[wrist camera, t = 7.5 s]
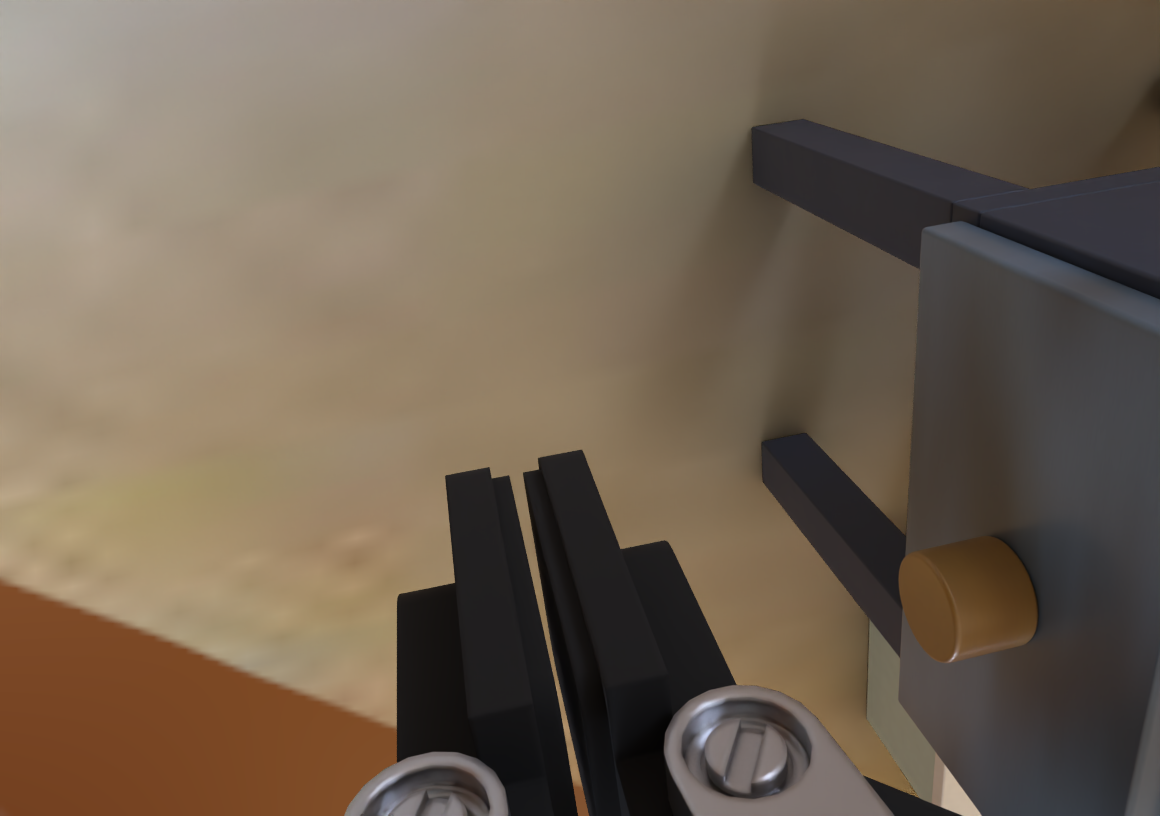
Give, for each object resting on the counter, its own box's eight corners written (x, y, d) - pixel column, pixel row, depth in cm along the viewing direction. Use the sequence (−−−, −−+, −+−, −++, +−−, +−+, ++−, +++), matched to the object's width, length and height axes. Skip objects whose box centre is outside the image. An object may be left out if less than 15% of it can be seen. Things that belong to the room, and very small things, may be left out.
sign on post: (867, 540, 31) (955, 640, 26) (1046, 500, 32) (1164, 590, 27) (859, 812, 36) (930, 934, 32) (1011, 772, 37) (1103, 885, 33)
